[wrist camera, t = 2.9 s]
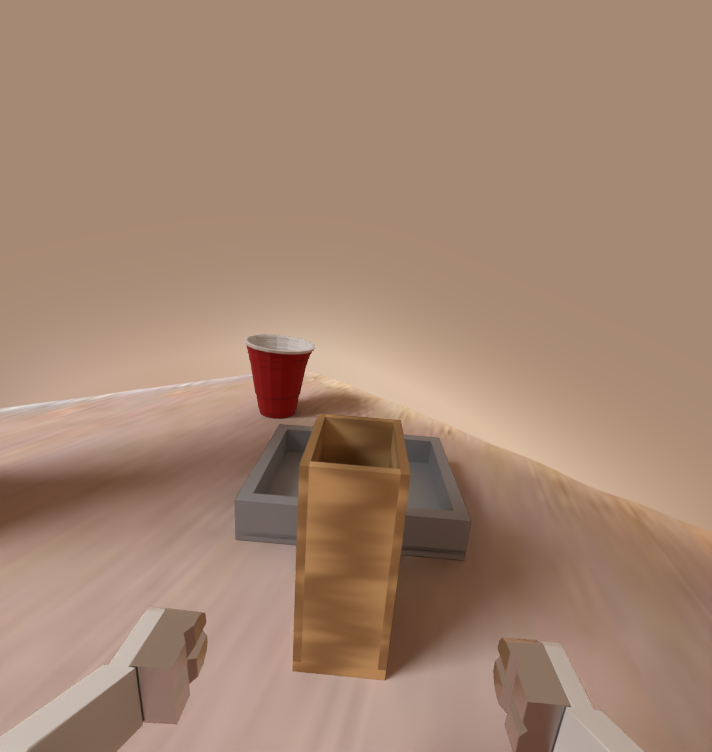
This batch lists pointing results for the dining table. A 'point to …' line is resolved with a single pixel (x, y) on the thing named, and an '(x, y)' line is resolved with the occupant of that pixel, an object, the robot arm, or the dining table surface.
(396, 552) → the wooden pencil holder
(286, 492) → the gray tray
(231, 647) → the dining table surface
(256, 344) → the plastic cup
